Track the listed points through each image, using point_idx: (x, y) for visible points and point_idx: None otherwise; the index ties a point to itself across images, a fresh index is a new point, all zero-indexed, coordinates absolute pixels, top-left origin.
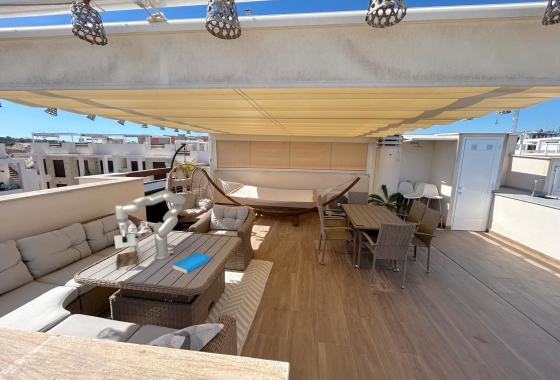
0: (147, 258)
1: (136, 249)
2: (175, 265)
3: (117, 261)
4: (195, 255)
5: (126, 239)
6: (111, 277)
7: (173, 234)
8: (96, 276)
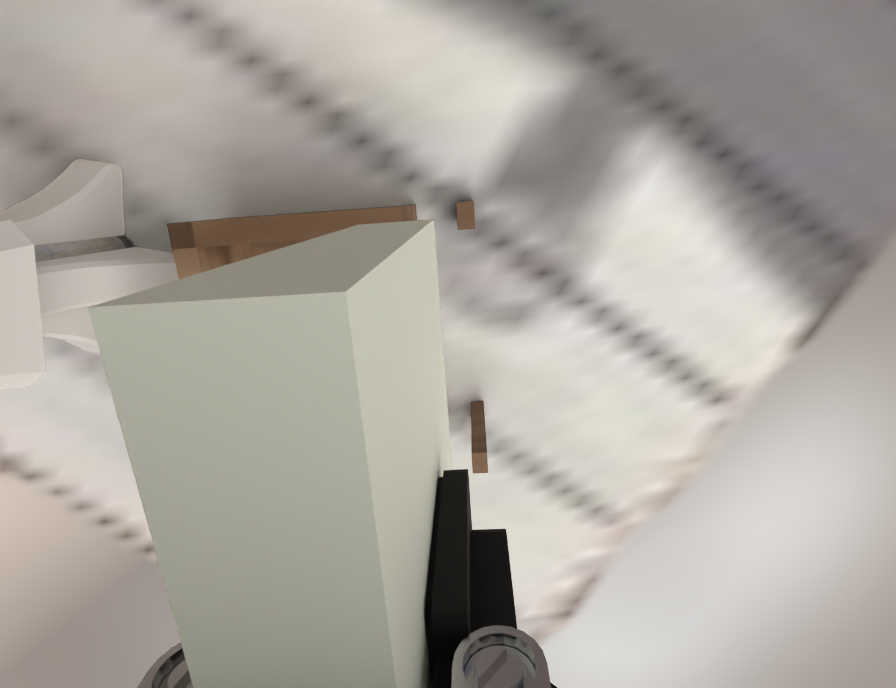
0: (287, 77)
1: (54, 241)
2: None
3: (485, 454)
4: None
5: (468, 555)
6: (646, 444)
7: None
8: (542, 568)
